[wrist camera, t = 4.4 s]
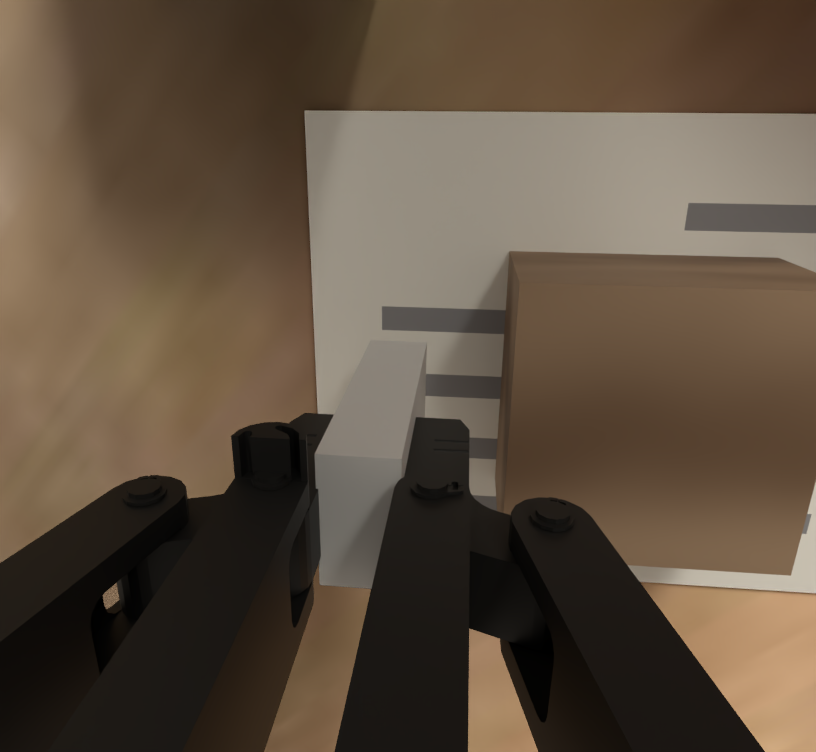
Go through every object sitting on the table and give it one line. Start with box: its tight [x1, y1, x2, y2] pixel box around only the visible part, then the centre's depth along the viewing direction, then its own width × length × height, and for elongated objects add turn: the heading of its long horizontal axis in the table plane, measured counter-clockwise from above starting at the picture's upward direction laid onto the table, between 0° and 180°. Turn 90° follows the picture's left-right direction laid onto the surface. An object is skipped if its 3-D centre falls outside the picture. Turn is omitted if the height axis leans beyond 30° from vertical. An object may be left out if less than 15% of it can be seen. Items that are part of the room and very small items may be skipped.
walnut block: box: [495, 251, 816, 576], centre depth 17 cm, size 7×7×4 cm
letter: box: [304, 110, 816, 593], centre depth 19 cm, size 14×18×1 cm
